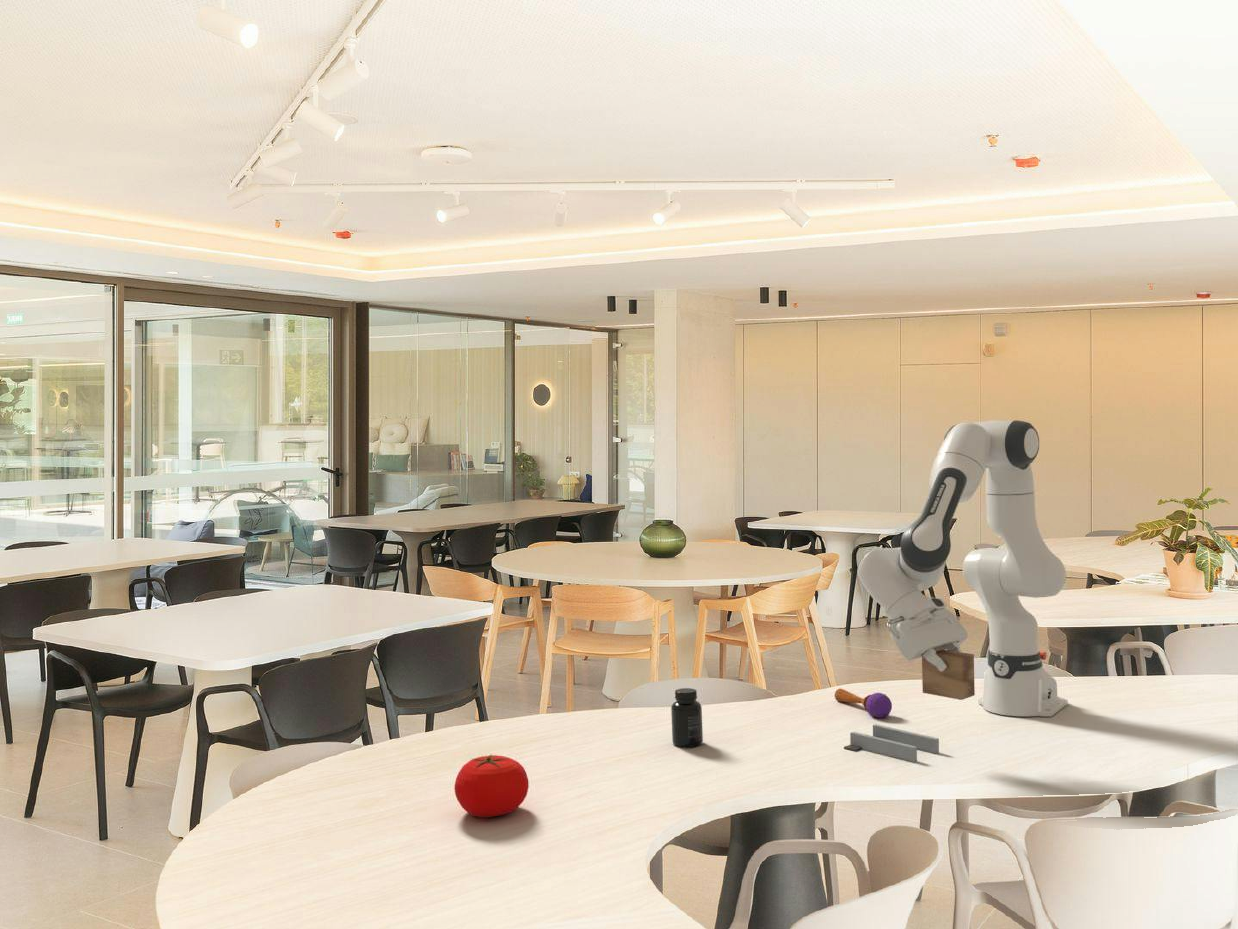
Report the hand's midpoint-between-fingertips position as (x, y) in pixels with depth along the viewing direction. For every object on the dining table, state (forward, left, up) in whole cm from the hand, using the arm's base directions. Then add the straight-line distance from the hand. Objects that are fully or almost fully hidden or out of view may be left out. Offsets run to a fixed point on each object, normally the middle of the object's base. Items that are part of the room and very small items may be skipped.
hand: (954, 666), depth 223 cm
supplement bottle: (+29, -49, -20) cm, 61 cm away
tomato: (+85, -44, -20) cm, 98 cm away
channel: (+1, -14, -20) cm, 25 cm away
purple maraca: (-21, -39, -20) cm, 48 cm away
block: (0, -1, -6) cm, 6 cm away
